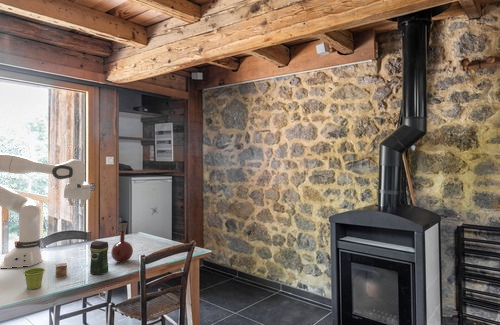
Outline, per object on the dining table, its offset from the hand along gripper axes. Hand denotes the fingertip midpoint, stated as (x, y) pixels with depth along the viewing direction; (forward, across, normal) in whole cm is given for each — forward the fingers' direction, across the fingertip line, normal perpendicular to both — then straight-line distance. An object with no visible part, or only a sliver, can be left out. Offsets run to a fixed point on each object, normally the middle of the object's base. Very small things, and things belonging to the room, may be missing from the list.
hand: (76, 206), depth 212 cm
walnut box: (+36, +14, -20) cm, 44 cm away
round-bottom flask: (+36, +26, +14) cm, 46 cm away
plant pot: (+37, +17, -37) cm, 55 cm away
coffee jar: (+36, +29, -7) cm, 47 cm away
